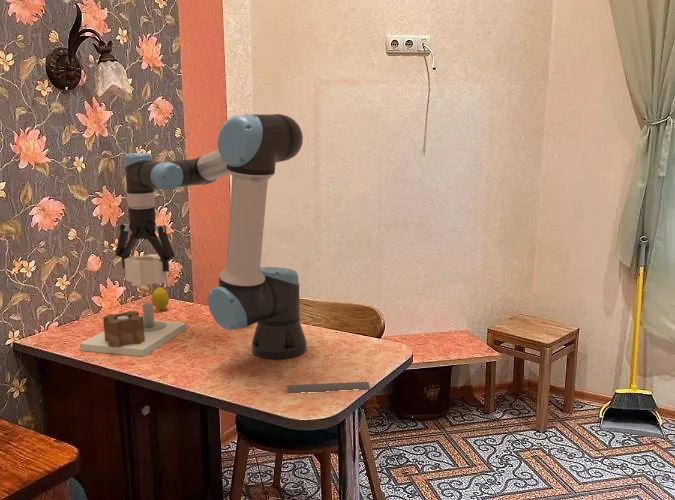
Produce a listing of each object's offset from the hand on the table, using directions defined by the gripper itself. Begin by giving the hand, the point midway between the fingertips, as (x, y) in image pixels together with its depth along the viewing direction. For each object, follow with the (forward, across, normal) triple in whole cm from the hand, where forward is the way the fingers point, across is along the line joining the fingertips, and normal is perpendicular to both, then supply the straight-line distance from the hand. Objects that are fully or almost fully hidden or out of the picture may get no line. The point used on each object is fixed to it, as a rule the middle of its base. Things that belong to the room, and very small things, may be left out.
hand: (146, 280), depth 196 cm
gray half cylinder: (+16, -64, +26) cm, 71 cm away
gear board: (+16, +1, +6) cm, 17 cm away
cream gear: (0, 0, 0) cm, 0 cm away
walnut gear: (+14, 0, +13) cm, 19 cm away
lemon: (+17, +9, -22) cm, 29 cm away
